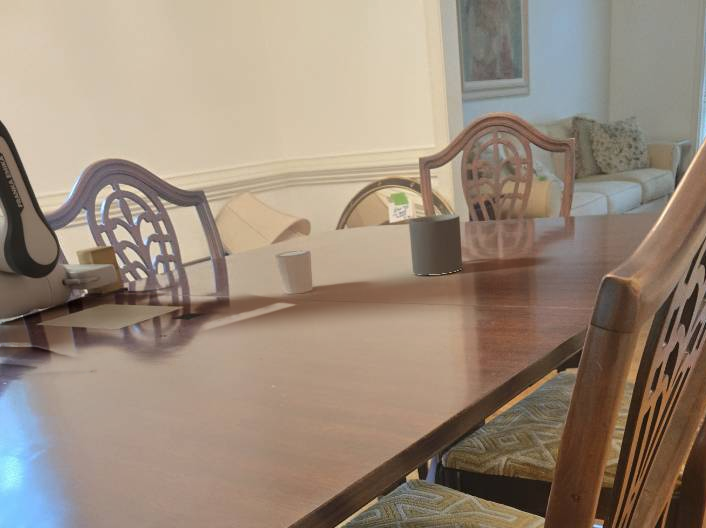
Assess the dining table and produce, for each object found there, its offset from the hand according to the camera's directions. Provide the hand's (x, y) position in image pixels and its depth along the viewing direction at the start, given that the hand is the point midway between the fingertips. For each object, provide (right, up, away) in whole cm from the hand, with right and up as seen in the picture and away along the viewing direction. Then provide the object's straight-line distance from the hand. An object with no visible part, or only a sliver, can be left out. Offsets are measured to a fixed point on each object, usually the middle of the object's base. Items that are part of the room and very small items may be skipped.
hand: (103, 268), depth 162 cm
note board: (+10, -17, -20) cm, 28 cm away
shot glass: (+43, -9, -11) cm, 45 cm away
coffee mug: (+71, -2, -5) cm, 71 cm away
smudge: (+26, -19, -28) cm, 42 cm away
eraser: (0, -6, +2) cm, 6 cm away
